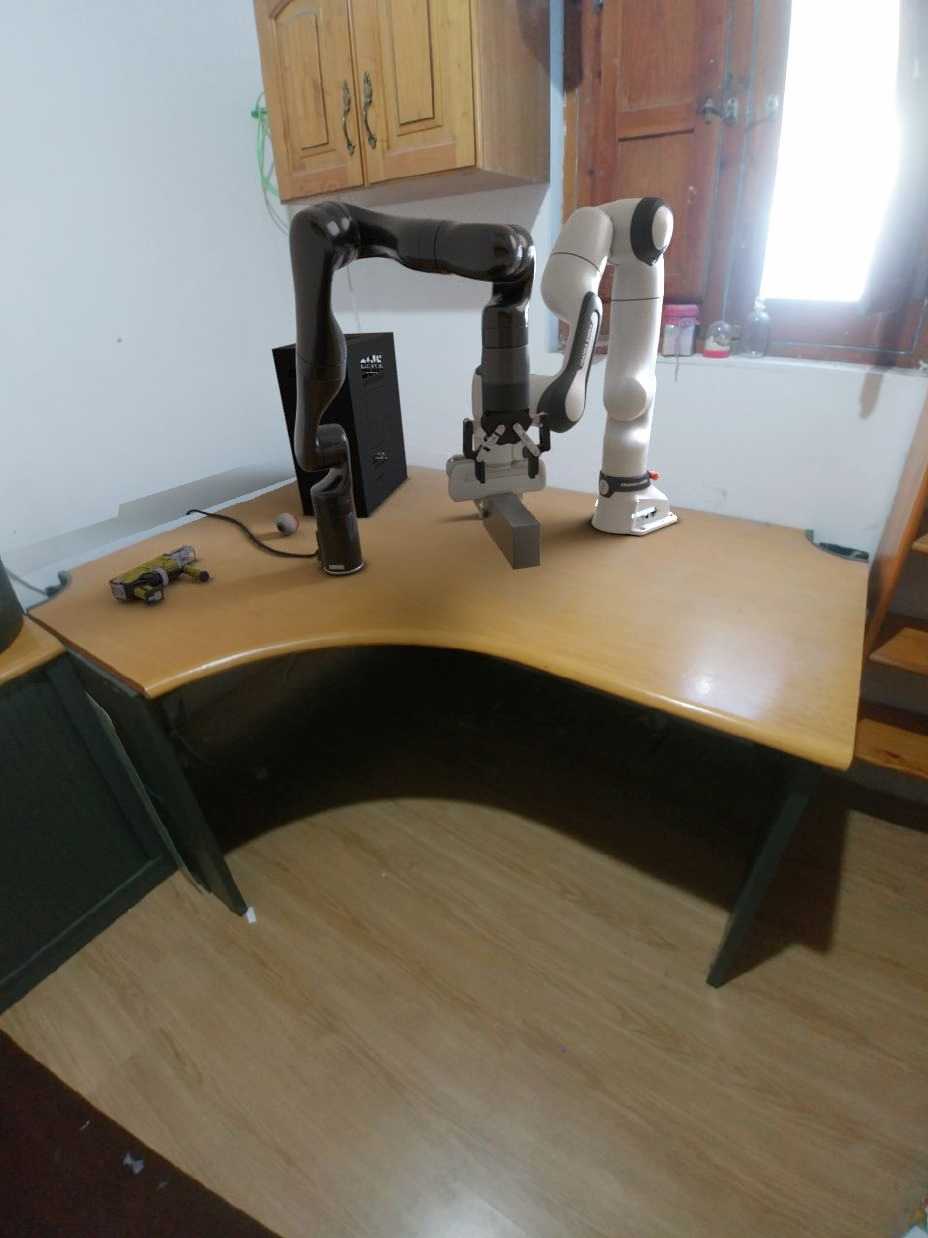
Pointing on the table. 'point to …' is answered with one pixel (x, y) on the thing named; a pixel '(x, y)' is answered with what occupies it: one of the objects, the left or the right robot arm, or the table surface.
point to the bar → (513, 530)
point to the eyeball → (287, 523)
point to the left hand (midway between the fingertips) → (507, 479)
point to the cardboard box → (356, 419)
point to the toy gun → (155, 576)
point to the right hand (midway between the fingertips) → (498, 515)
